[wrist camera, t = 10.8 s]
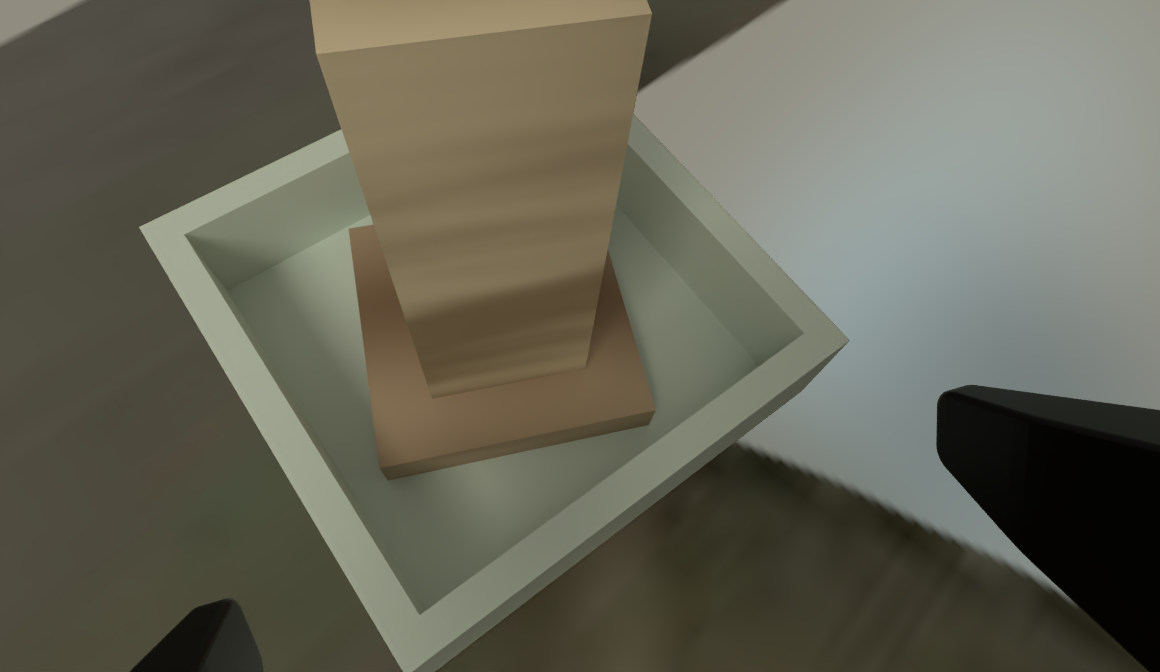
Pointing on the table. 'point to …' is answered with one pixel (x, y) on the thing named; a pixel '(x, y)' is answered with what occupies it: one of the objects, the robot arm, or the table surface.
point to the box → (503, 484)
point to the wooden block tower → (488, 219)
